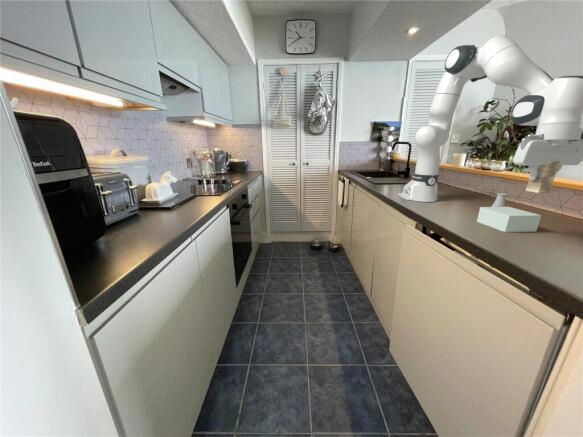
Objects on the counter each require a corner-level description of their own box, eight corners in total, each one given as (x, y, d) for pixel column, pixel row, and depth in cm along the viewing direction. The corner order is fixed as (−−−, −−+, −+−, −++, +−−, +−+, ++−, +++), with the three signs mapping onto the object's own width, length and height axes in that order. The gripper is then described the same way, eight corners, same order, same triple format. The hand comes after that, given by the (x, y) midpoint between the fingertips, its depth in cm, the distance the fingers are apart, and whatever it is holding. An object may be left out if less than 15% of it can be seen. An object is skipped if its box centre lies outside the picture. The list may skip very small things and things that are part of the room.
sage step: (476, 221, 94) (480, 207, 92) (504, 221, 95) (508, 206, 93) (504, 232, 83) (509, 215, 81) (536, 231, 83) (541, 215, 82)
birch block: (538, 193, 76) (548, 161, 73) (525, 190, 79) (534, 160, 76) (549, 192, 76) (559, 161, 73) (536, 190, 80) (545, 160, 77)
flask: (507, 219, 97) (514, 196, 94) (485, 216, 101) (491, 193, 98) (506, 215, 102) (512, 193, 99) (484, 212, 107) (490, 191, 104)
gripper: (535, 133, 69) (521, 181, 73) (598, 134, 70) (581, 180, 74) (514, 134, 75) (502, 178, 79) (572, 135, 76) (558, 177, 80)
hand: (541, 179), depth 76 cm, fingers closed on birch block, 4 cm apart
